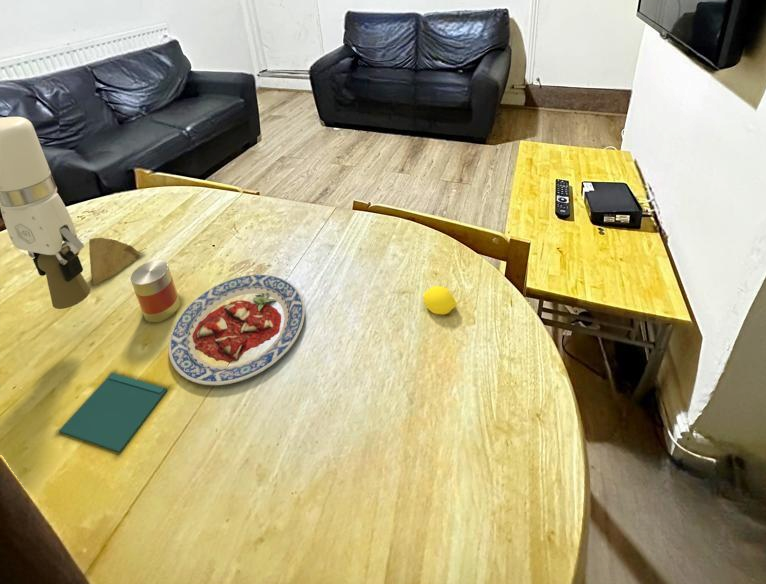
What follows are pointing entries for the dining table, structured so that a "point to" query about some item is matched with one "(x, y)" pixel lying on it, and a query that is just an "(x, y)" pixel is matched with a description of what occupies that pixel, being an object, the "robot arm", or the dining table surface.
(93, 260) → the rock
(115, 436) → the notepad
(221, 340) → the ceramic plate
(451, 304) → the lemon
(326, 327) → the dining table surface
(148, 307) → the tin can
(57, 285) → the brown pepper mill
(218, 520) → the dining table surface
